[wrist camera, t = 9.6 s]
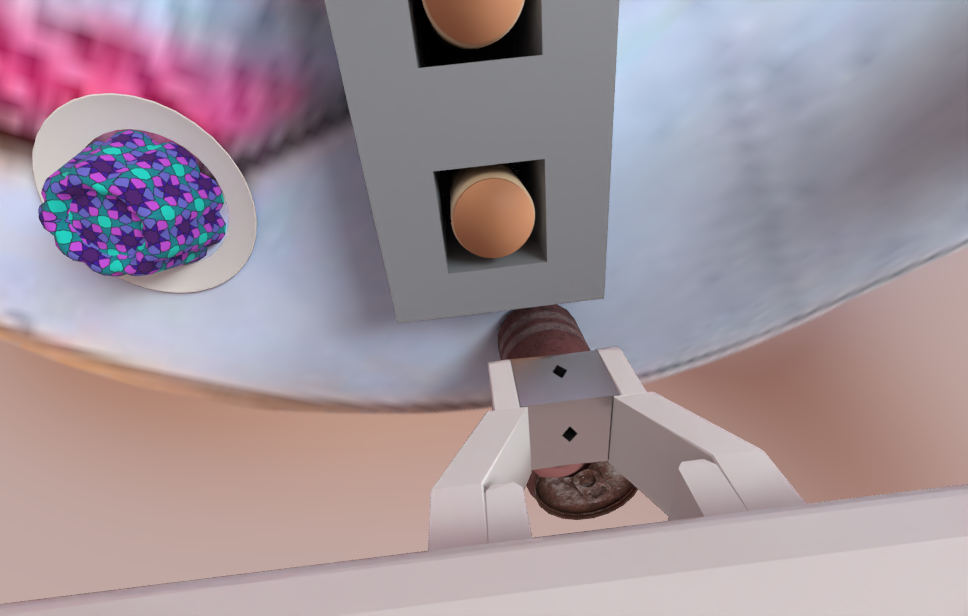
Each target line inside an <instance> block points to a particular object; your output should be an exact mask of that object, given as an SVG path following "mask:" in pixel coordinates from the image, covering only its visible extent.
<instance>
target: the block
mask: <svg viewBox="0 0 968 616" xmlns="http://www.w3.org/2000/svg"><path fill="white" fill-rule="evenodd" d="M324 2H325V6H326V10H327V15H328V19H329V24H330V28H331V32H332V37H333V41H334V46H335V50H336V54H337V59H338V63H339V68H340V72H341V77H342V81H343V85H344V90H345V94H346V99H347V103H348V107H349V112H350V116H351V121H352V125H353V129H354V134H355V138H356V143H357V147H358V152H359V156H360V160H361V165H362V169H363V174H364V178H365V182H366V187H367V191H368V196H369V200H370V204H371V209H372V213H373V218H374V222H375V227H376V231H377V235H378V240H379V244H380V249H381V253H382V257H383V262H384V266H385V271H386V275H387V279H388V284H389V288H390V293H391V297H392V301H393V306H394V310H395V315H396V319H397V324H399V323H407V322H415V321H424V320H432V319H440V318H448V317H456V316H464V315H472V314H481V313H489V312H497V311H505V310H513V309H521V308H530V307H538V306H546V305H554V304H562V303H570V302H579V301H587V300H595V299H603V298H604V288H605V268H606V249H607V229H608V210H609V190H610V171H611V151H612V132H613V112H614V93H615V73H616V54H617V34H618V15H619V0H525V1H524V5H523V8H522V11H521V13H520V15H519V17H518V19H517V21H516V22H515V24H514V26H513V27H512V28H513V48H514V57H512V58H503V59H494V60H485V61H475V62H466V63H457V64H447V65H438V66H429V67H425V65H424V58H423V51H422V43H421V36H420V29H419V22H418V15H417V8H416V1H415V0H324ZM512 162H519V166H520V181H521V183H522V184H523V186H524V187H525V189H526V190H527V192H528V193H529V195H530V197H531V199H532V201H533V204H534V208H535V221H534V226H533V229H532V232H531V234H530V236H529V237H528V239H527V241H526V242H525V243H524V244H523V245H522V246H521V247H520V248H519V249H518V250H516V251H515V252H513V253H512V254H509V255H507V256H504V257H500V258H485V257H481V256H477V255H475V254H473V253H471V252H470V251H468V250H467V249H465V248H464V247H463V246H462V245H461V244H460V243H459V241H458V240H457V238H456V236H455V234H454V232H453V229H452V224H451V222H448V223H447V221H446V214H445V207H444V200H443V193H442V186H441V178H440V171H442V170H451V169H460V168H468V167H477V166H486V165H495V164H504V163H512Z"/></svg>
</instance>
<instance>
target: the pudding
mask: <svg viewBox="0 0 968 616" xmlns="http://www.w3.org/2000/svg"><path fill="white" fill-rule="evenodd" d="M123 129H135V130H144V131H148V132H152V133H155V134H159V135H161V136H163V137H166V138H168V139H171V140H173V141H174V142H176V143H178V144H179V145H181V146H183V147H185V148H186V149H187V150H189V151H190V152H191V153H192V154H194V155H195V156H196V157H197V158H198V159H199V160H200V161H201V162H202V163H203V164H204V165H205V166H206V167H207V168H208V169H209V170H210V172H211V173H212V174H213V176H214V177H215V178H216V180H217V182H218V183H219V185H220V187H221V189H222V191H223V193H224V196H225V199H226V202H227V206H228V212H229V226H228V230H227V235H226V237H225V239H224V241H223V243H222V245H221V246H220V247H219V248H218V250H217V251H216V252H215V253H213V254H212V255H211V256H209V257H208V258H206V259H204V260H202V261H200V262H197V263H193V264H189V265H185V264H188V263H192V262H195V261H198V260H200V259H201V258H203V257H204V256H206V253H207V247H208V246H209V245H212V244H216V243H219V242H220V241H221V240H222V238H223V237H224V235H225V230H226V223H225V222H224V220H223V218H222V217H221V215H220V213H219V211H220V209H221V208H222V206H223V204H224V199H223V195H222V191H221V189H220V188H219V187H218V185H217V184H216V182H215V181H214V180H213V179H212V178H210V177H208V176H206V175H204V174H202V173H200V170H199V167H198V164H197V161H196V159H195V158H194V157H193V156H192V155H191V154H190V153H189V152H188V151H187V150H186V149H185V148H183V147H181V146H178V145H176V144H174V143H172V142H168V143H159V144H157V143H156V142H155V141H153V140H152V139H151V138H150V137H149V136H147V135H146V134H145V133H143V132H138V131H133V130H126V131H121V132H117V133H116V134H115V135H113V136H112V137H111V138H109V139H108V140H107V141H105V142H100V141H95V142H94V143H92V144H91V145H89V146H87V145H88V144H89V143H90V142H91V141H92V140H93V139H95V138H96V137H98V136H100V135H102V134H104V133H107V132H111V131H114V130H123ZM86 146H87V147H86ZM85 147H86V148H85ZM84 148H85V149H84ZM32 170H33V175H34V180H35V186H36V189H37V191H38V194H39V196H40V199H41V202H42V204H41V205H40V206H39V209H38V210H39V220H40V221H41V223H42V225H43V227H44V228H45V229H46V230H47V231H49V232H50V233H51V234H52V235H54V237H55V243H56V246H57V247H58V248H59V250H60V251H61V252H62V253H63V254H64V255H66V256H67V257H69V258H70V259H72V260H75V261H80V262H84V263H85V264H86V265H87V266H88V267H89V268H90V269H92V270H93V271H95V272H97V273H99V274H102V275H108V276H116V277H118V278H121V279H123V280H125V281H127V282H129V283H132V284H135V285H138V286H141V287H144V288H147V289H152V290H157V291H162V292H173V293H188V292H198V291H202V290H206V289H210V288H213V287H215V286H218V285H220V284H222V283H224V282H226V281H227V280H229V279H230V278H231V277H233V276H234V275H235V274H237V273H238V272H239V270H240V269H241V268H242V267H243V266H244V265H245V263H246V262H247V260H248V258H249V256H250V254H251V252H252V250H253V246H254V243H255V239H256V230H257V218H256V211H255V205H254V201H253V198H252V195H251V192H250V189H249V187H248V185H247V183H246V181H245V179H244V177H243V175H242V173H241V171H240V169H239V168H238V167H237V165H236V164H235V162H234V161H233V160H232V158H231V157H230V155H229V154H228V153H227V152H226V151H225V150H224V149H223V148H222V146H221V145H220V144H219V143H218V142H217V141H216V140H215V139H214V138H213V137H212V136H211V135H209V134H208V133H207V132H206V131H204V130H203V129H202V128H201V127H200V126H198V125H197V124H196V123H194V122H193V121H191V120H190V119H188V118H186V117H185V116H183V115H181V114H180V113H178V112H177V111H175V110H172V109H170V108H168V107H166V106H163V105H161V104H159V103H157V102H154V101H151V100H147V99H143V98H140V97H136V96H133V95H124V94H115V93H105V94H91V95H87V96H84V97H80V98H77V99H73V100H71V101H69V102H68V103H66V104H64V105H62V106H61V107H59V108H57V109H56V110H55V111H54V112H53V113H52V114H51V115H50V116H49V117H48V118H47V119H46V120H45V121H44V123H43V125H42V127H41V128H40V130H39V132H38V133H37V136H36V140H35V144H34V147H33V155H32Z"/></svg>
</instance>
